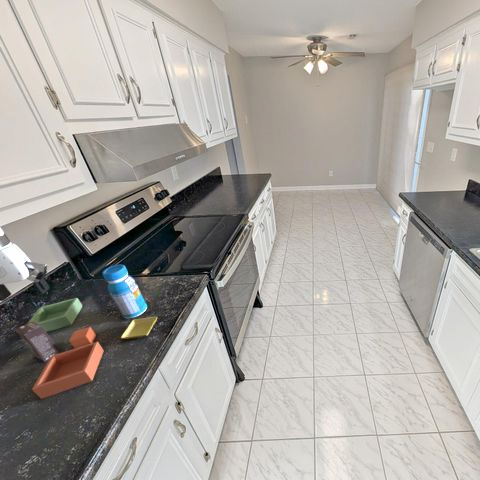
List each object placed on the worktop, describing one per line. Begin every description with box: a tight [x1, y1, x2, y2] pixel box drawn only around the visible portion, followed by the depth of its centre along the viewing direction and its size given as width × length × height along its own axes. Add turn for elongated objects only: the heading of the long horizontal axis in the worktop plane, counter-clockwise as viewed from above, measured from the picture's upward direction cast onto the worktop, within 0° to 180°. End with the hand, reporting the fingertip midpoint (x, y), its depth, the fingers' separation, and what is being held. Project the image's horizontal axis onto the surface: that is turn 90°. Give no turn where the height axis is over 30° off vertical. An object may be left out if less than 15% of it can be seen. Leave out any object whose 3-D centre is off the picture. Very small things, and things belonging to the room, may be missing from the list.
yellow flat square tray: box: [120, 316, 158, 340], centre depth 89 cm, size 9×9×2 cm
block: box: [68, 326, 97, 349], centre depth 85 cm, size 4×4×4 cm
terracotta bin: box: [31, 341, 105, 400], centre depth 75 cm, size 12×12×5 cm
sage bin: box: [26, 297, 83, 333], centre depth 96 cm, size 12×12×5 cm
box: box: [15, 321, 61, 363], centre depth 80 cm, size 6×4×12 cm
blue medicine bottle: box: [102, 263, 148, 319], centre depth 94 cm, size 8×8×20 cm
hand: (26, 294), depth 76 cm, fingers open, 9 cm apart
